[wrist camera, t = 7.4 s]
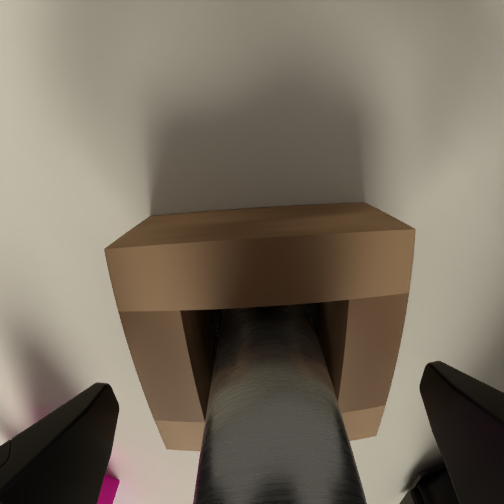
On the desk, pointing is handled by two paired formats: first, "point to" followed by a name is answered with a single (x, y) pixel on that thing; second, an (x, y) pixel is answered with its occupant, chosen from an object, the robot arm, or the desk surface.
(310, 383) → the metal canister
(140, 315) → the brown square frame
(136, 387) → the desk surface
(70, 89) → the desk surface
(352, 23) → the desk surface
